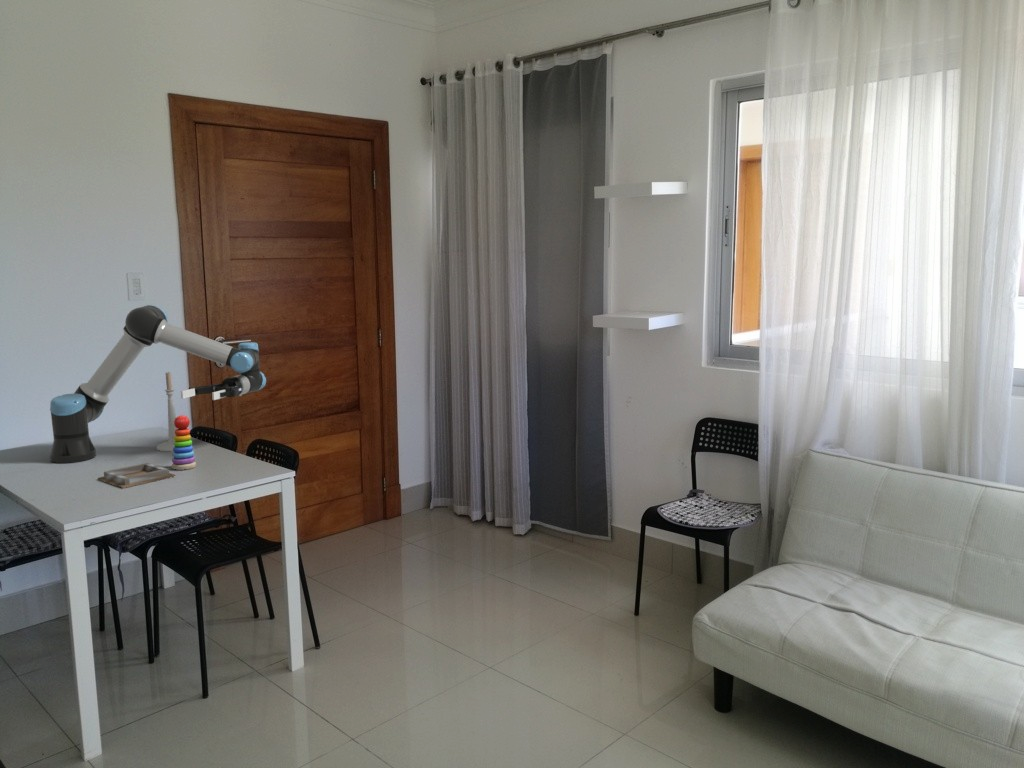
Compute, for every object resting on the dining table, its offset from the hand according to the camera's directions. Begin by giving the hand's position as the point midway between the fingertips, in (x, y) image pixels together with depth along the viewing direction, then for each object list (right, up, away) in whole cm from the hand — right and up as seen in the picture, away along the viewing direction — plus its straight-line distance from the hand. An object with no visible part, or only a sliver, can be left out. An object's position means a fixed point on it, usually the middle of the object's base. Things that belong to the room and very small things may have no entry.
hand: (197, 395), depth 299 cm
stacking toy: (-3, -26, -5) cm, 26 cm away
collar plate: (-14, -28, -18) cm, 36 cm away
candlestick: (-19, -21, +26) cm, 39 cm away
